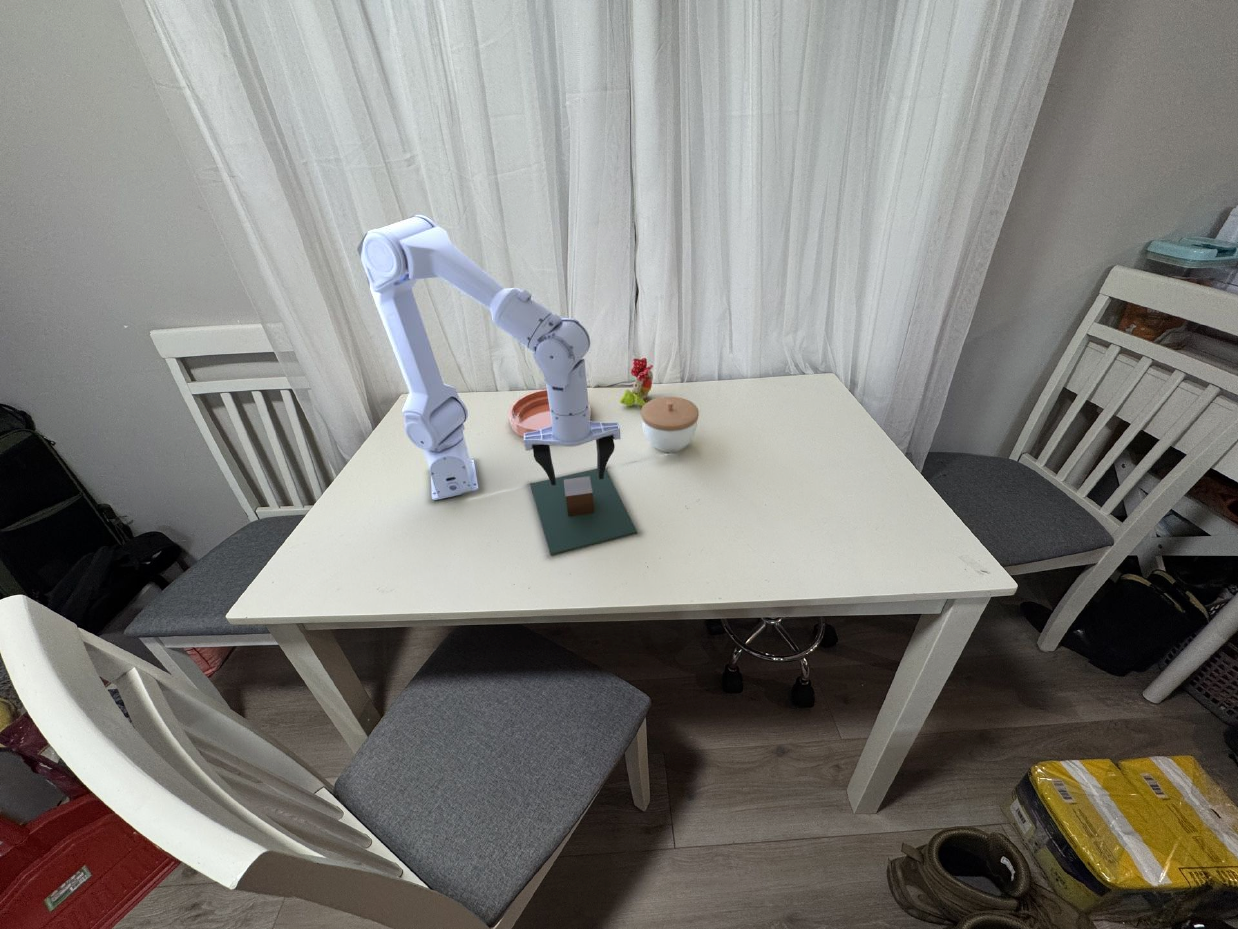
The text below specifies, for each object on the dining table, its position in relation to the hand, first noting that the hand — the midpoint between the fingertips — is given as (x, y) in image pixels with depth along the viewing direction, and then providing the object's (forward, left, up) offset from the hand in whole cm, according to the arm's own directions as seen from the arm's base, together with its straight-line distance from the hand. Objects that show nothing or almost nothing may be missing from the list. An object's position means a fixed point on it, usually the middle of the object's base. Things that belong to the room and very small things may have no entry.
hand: (577, 478), depth 83 cm
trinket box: (+12, -21, -7) cm, 25 cm away
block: (0, 0, -6) cm, 6 cm away
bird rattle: (+29, -21, -7) cm, 36 cm away
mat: (0, 0, -6) cm, 6 cm away
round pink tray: (+29, -1, -6) cm, 30 cm away
